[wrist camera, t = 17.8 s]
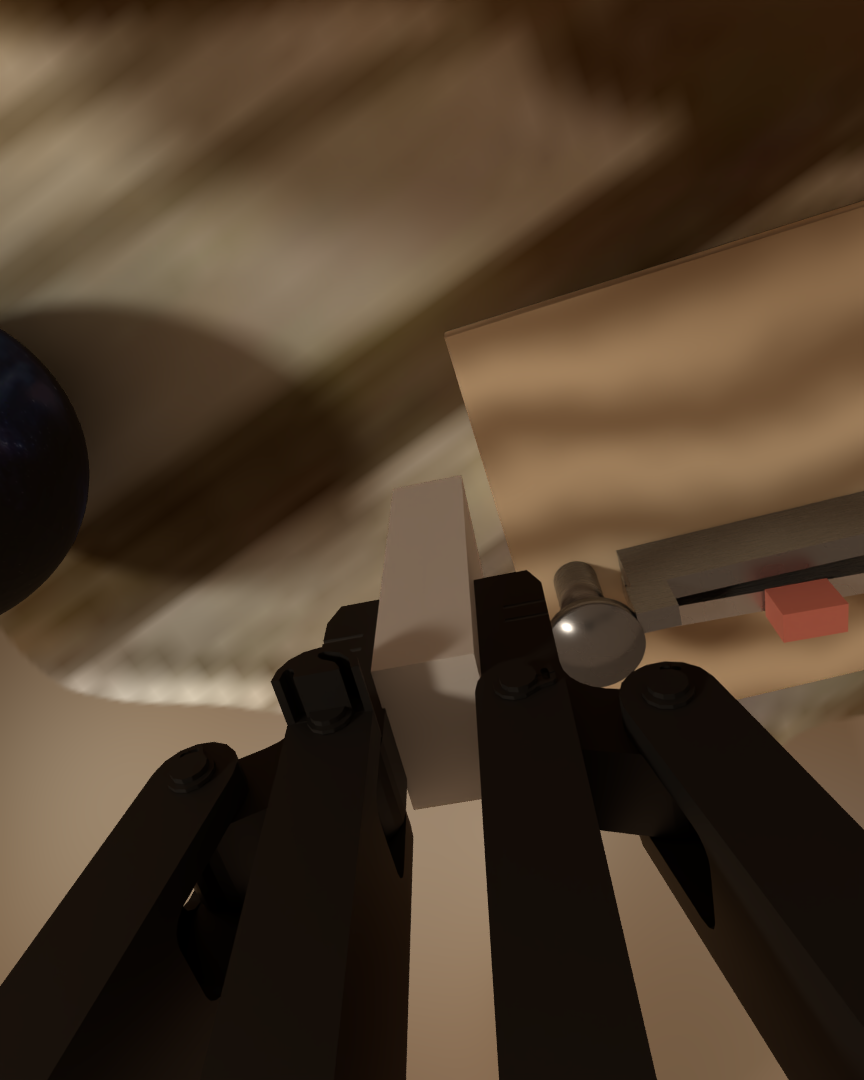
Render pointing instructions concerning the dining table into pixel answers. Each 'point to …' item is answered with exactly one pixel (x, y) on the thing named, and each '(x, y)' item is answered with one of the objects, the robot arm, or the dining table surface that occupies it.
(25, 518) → the decorative sphere
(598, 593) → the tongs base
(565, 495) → the board
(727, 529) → the grey lever with knob
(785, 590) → the tab
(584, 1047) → the robot arm
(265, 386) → the dining table surface
